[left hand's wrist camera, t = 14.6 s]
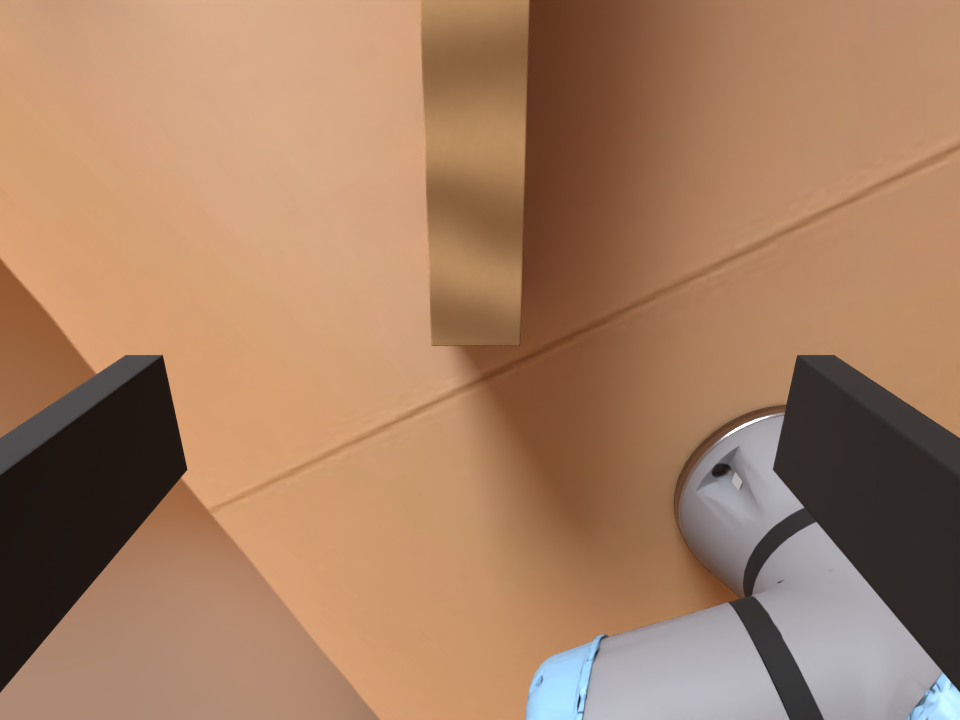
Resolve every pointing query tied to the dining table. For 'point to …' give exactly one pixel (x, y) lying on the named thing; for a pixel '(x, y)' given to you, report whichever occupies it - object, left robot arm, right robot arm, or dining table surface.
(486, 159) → the post
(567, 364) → the dining table surface
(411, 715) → the dining table surface
